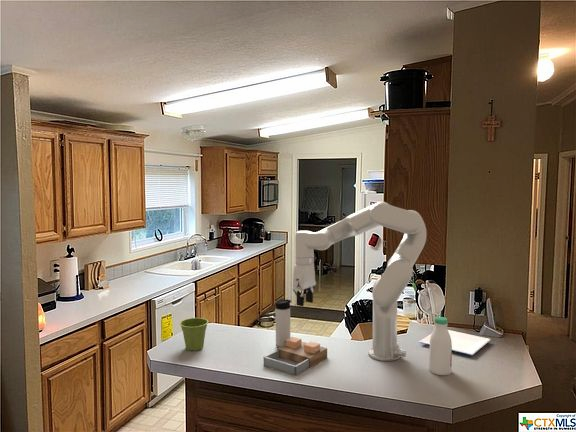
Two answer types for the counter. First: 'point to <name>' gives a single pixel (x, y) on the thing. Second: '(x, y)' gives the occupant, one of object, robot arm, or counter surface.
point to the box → (285, 364)
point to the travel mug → (282, 322)
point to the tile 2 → (312, 347)
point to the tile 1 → (293, 342)
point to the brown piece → (302, 354)
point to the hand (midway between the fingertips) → (304, 303)
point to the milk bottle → (440, 348)
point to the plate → (463, 342)
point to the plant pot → (194, 332)
